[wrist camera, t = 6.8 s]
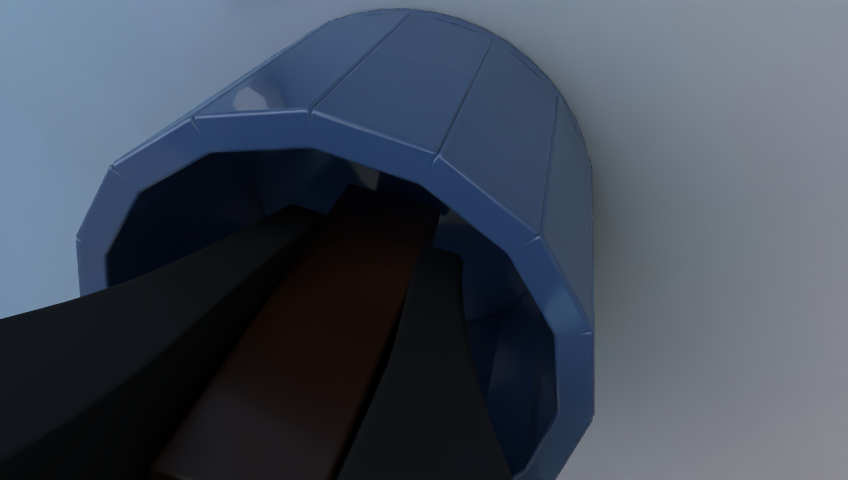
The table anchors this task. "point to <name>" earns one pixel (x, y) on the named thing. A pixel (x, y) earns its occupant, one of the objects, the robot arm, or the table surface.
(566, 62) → the table surface
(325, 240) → the dark brown square post
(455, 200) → the cup
